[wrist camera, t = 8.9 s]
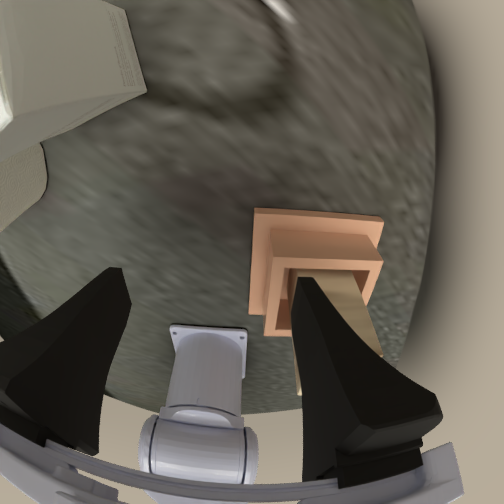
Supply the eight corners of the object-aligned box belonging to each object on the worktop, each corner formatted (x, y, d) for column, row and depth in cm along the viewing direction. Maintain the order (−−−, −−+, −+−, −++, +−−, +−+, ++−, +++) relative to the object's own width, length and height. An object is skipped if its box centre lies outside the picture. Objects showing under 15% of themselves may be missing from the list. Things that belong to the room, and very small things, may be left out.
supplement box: (127, 7, 11) (-3, -35, 1) (150, 93, 15) (12, 126, 5) (49, 54, 12) (-81, 77, 2) (69, 131, 16) (-57, 202, 6)
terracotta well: (350, 307, 26) (361, 342, 22) (248, 306, 26) (248, 344, 22) (379, 216, 21) (403, 246, 17) (254, 207, 20) (254, 239, 17)
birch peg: (331, 289, 23) (358, 391, 15) (286, 288, 23) (297, 395, 15) (342, 250, 21) (383, 355, 13) (292, 247, 21) (311, 358, 13)
